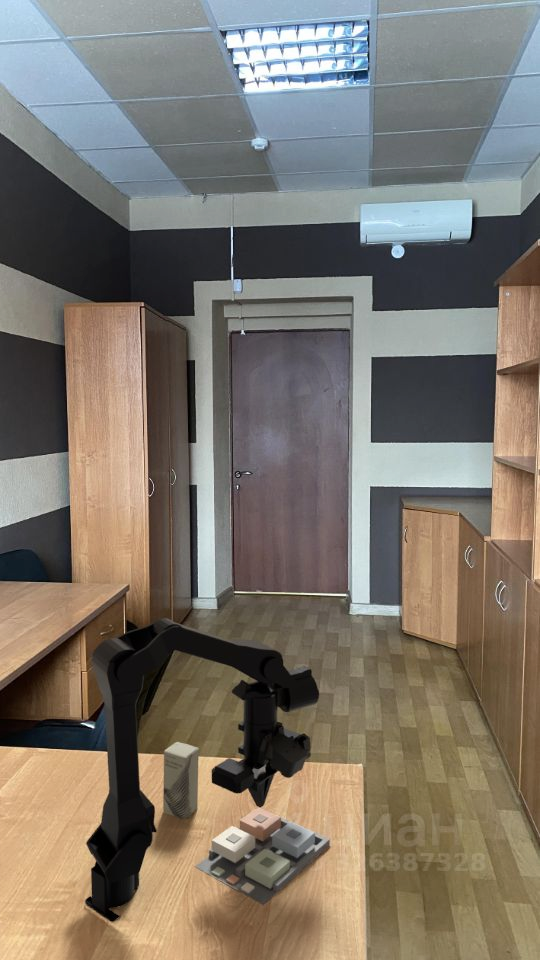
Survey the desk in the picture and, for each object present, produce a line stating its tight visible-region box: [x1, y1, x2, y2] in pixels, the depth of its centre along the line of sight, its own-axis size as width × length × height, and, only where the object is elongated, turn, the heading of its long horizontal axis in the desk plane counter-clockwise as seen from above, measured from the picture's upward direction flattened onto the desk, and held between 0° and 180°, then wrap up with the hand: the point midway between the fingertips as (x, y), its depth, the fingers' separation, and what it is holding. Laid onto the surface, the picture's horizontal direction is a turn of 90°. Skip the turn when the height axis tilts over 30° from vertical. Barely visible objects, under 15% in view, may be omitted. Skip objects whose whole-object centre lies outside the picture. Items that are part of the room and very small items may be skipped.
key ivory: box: [211, 825, 255, 863], centre depth 112 cm, size 5×5×2 cm
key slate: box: [272, 821, 316, 858], centre depth 114 cm, size 5×5×2 cm
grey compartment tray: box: [194, 817, 331, 906], centre depth 113 cm, size 18×14×2 cm
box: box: [162, 741, 200, 820], centre depth 126 cm, size 5×4×13 cm
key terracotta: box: [239, 806, 282, 841], centre depth 118 cm, size 5×5×2 cm
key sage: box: [245, 849, 290, 889], centre depth 108 cm, size 5×5×2 cm
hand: (260, 806), depth 118 cm, fingers closed
